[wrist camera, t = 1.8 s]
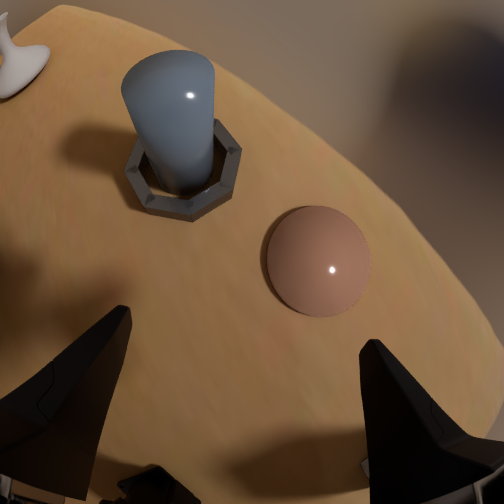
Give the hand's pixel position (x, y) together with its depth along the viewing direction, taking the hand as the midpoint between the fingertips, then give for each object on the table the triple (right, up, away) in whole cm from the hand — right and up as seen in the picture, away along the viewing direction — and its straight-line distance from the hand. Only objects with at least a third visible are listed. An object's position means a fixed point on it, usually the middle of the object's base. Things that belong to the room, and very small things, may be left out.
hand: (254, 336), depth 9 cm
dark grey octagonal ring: (-6, +11, +15) cm, 19 cm away
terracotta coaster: (+6, +2, +15) cm, 16 cm away
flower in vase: (-36, +30, +15) cm, 49 cm away
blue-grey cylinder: (-6, +11, +15) cm, 19 cm away
